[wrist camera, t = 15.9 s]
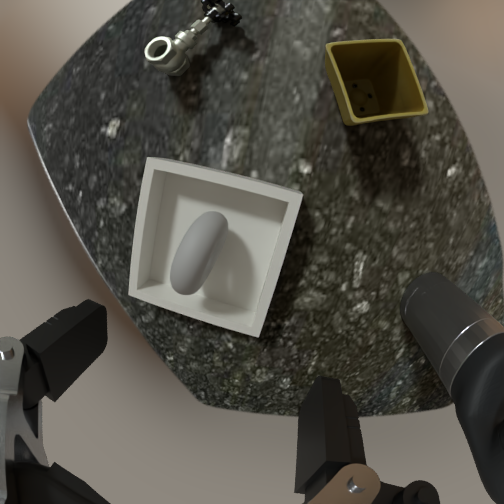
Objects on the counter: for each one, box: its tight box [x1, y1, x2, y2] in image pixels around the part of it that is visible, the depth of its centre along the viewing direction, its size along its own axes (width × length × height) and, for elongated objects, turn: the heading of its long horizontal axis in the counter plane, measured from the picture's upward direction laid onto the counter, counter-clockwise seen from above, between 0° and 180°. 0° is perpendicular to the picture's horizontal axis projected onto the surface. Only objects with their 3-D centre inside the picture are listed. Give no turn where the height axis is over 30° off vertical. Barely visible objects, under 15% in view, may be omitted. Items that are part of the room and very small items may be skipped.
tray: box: [129, 157, 303, 337], centre depth 34 cm, size 18×18×5 cm
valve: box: [145, 0, 242, 76], centre depth 26 cm, size 7×7×12 cm
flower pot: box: [325, 39, 428, 126], centre depth 25 cm, size 9×9×9 cm
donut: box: [170, 211, 228, 295], centre depth 31 cm, size 10×4×10 cm, turn 155°
